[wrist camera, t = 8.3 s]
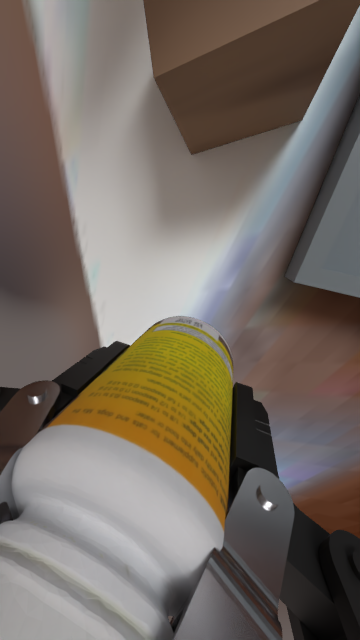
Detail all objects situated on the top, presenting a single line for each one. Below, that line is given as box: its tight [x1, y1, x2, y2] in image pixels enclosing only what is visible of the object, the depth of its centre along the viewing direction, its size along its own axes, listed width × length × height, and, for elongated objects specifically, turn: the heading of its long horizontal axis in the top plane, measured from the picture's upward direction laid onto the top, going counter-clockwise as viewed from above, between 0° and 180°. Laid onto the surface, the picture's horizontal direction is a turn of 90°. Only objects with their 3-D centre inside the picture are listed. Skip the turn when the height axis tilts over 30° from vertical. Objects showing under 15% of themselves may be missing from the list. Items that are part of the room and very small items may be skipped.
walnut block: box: [143, 0, 360, 155], centre depth 6 cm, size 5×5×5 cm
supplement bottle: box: [0, 316, 233, 640], centre depth 7 cm, size 6×6×10 cm
